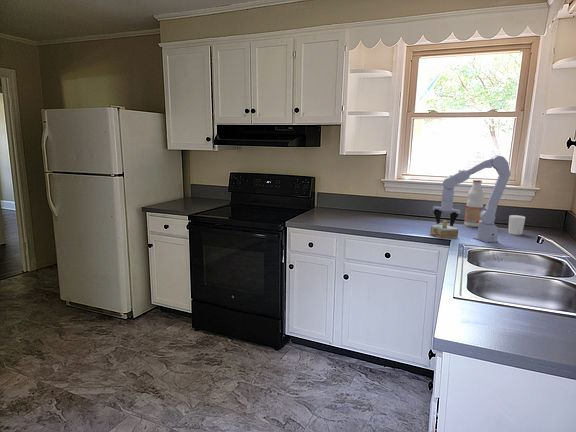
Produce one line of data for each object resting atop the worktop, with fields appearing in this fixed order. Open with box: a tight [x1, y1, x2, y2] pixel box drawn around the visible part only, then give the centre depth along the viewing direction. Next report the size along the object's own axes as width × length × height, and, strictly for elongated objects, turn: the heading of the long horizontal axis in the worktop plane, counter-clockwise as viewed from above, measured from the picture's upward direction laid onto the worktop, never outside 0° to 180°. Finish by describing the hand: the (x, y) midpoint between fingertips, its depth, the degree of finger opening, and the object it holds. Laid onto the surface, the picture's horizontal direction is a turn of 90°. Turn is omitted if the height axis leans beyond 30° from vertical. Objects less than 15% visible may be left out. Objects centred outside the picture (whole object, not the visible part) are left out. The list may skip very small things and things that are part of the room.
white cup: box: [508, 214, 526, 236], centre depth 226 cm, size 8×8×10 cm
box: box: [430, 226, 459, 239], centre depth 217 cm, size 10×10×4 cm
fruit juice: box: [463, 179, 485, 228], centre depth 243 cm, size 9×9×28 cm
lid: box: [430, 220, 459, 231], centre depth 216 cm, size 10×10×4 cm
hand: (444, 224), depth 217 cm, fingers open, 7 cm apart
